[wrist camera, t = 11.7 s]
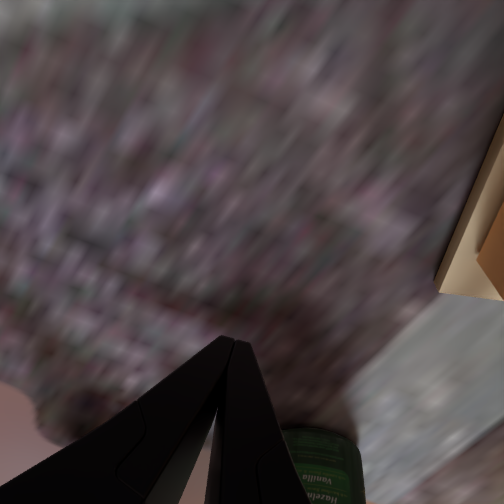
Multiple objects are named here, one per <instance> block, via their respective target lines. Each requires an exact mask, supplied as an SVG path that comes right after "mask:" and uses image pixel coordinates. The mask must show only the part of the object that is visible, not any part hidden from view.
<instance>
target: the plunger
mask: <svg viewBox="0 0 504 504" xmlns="http://www.w3.org/2000/svg"><path fill="white" fill-rule="evenodd" d="M476 261H477V262H478V264H479V265H480V267H481V268H482V270H483V271H484V273H485V274H486V276H487V277H488V279H489V280H490V281H491V283H492V284H493V286H494V287H495V289H496V290H497V292H498V293H499V295H500V296H501V298H502V299H503V301H504V202H503V204H502V206H501V208H500V210H499V212H498V214H497V217H496V219H495V221H494V223H493V225H492V227H491V229H490V231H489V234H488V236H487V238H486V240H485V242H484V244H483V246H482V248H481V251H480V253H479V255H478V257H477V259H476Z"/></svg>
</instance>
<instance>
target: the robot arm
mask: <svg viewBox="0 0 504 504" xmlns="http://www.w3.org/2000/svg"><path fill="white" fill-rule="evenodd" d="M217 409H218V410H217ZM216 412H217V414H216ZM215 415H216V419H215V425H214V433H213V441H212V448H211V456H210V464H209V471H208V479H207V487H206V494H205V502H204V504H312V503H311V501H310V499H309V497H308V494H307V492H306V490H305V488H304V486H303V484H302V482H301V479H300V477H299V475H298V473H297V470H296V468H295V465H294V463H293V460H292V457H291V455H290V452H289V449H288V446H287V444H286V441H285V440H284V436H283V433H282V431H281V428H280V425H279V422H278V419H277V416H276V414H275V411H274V408H273V405H272V402H271V399H270V397H269V394H268V391H267V388H266V385H265V382H264V380H263V377H262V374H261V371H260V368H259V365H258V363H257V360H256V357H255V354H254V351H253V348H252V346H251V344H250V343H249V342H246V341H242V340H236V341H235V340H234V339H233V338H230V337H226V336H223V335H221V336H219V337H218V338H216V339H215V340H214V341H212V342H211V343H210V344H208V345H207V346H206V347H205V348H203V349H202V350H201V351H199V352H198V353H197V354H195V355H194V356H193V357H192V358H190V359H189V360H188V361H186V362H185V363H184V364H182V365H181V366H180V367H179V368H177V369H176V370H175V371H173V372H172V373H171V374H169V375H168V376H167V377H166V378H164V379H163V380H162V381H160V382H159V383H158V384H156V385H155V386H154V387H153V388H151V389H150V390H149V391H147V392H146V393H145V394H143V395H142V396H141V397H140V398H138V399H137V401H134V402H132V403H131V404H130V405H129V406H127V407H126V408H125V409H123V410H122V411H121V412H119V413H118V414H116V415H115V416H114V417H112V418H111V419H109V420H108V421H107V422H105V423H104V424H102V425H100V426H99V427H97V428H96V429H94V430H93V431H91V432H89V433H88V434H86V435H85V436H83V437H81V438H80V439H78V440H76V441H75V442H73V443H71V444H70V445H68V446H66V447H65V448H63V449H61V450H60V451H58V452H56V453H55V454H53V455H51V456H50V457H49V458H47V459H45V460H43V461H41V462H40V463H38V464H37V465H35V466H33V467H32V468H30V469H28V470H27V471H25V472H23V473H22V474H20V475H18V476H17V477H15V478H13V479H12V480H10V481H9V482H7V483H5V484H3V485H2V486H0V504H178V503H179V500H180V498H181V496H182V494H183V491H184V489H185V487H186V484H187V482H188V479H189V477H190V475H191V472H192V470H193V468H194V466H195V463H196V461H197V458H198V456H199V454H200V451H201V449H202V447H203V444H204V442H205V440H206V437H207V435H208V433H209V430H210V428H211V426H212V423H213V421H214V418H215Z"/></svg>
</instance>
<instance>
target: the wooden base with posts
mask: <svg viewBox="0 0 504 504" xmlns="http://www.w3.org/2000/svg"><path fill="white" fill-rule="evenodd" d="M503 202H504V114H503V116H502V119H501V121H500V124H499V126H498V128H497V131H496V133H495V136H494V138H493V140H492V143H491V145H490V148H489V150H488V152H487V155H486V157H485V160H484V162H483V164H482V167H481V169H480V172H479V174H478V176H477V179H476V181H475V184H474V186H473V188H472V191H471V193H470V196H469V198H468V200H467V203H466V205H465V208H464V210H463V212H462V215H461V217H460V220H459V222H458V224H457V227H456V229H455V232H454V234H453V236H452V239H451V241H450V244H449V246H448V248H447V251H446V253H445V256H444V258H443V260H442V263H441V265H440V267H439V270H438V272H437V275H436V277H435V279H434V284H435V286H436V288H437V290H438V292H441V293H448V294H456V295H463V296H471V297H478V298H486V299H493V300H501V301H503V299H502V298H501V296H500V295H499V293H498V292H497V290H496V289H495V287H494V286H493V284H492V283H491V281H490V280H489V279H488V277H487V276H486V274H485V273H484V271H483V270H482V268H481V267H480V265H479V264H478V262H477V261H476V259H477V257H478V255H479V253H480V251H481V248H482V246H483V244H484V242H485V240H486V238H487V236H488V234H489V231H490V229H491V227H492V225H493V223H494V221H495V219H496V217H497V214H498V212H499V210H500V208H501V206H502V204H503Z"/></svg>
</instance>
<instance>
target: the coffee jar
mask: <svg viewBox="0 0 504 504" xmlns="http://www.w3.org/2000/svg"><path fill="white" fill-rule="evenodd" d="M281 431H282V433H283V436H284V440H285V441H286V444H287V446H288V449H289V452H290V455H291V457H292V460H293V463H294V465H295V468H296V470H297V473H298V475H299V477H300V479H301V482H302V484H303V486H304V488H305V490H306V492H307V494H308V497H309V499H310V501H311V503H312V504H366V499H365V487H364V478H363V468H362V460H361V454H360V451H359V449H358V448H357V446H356V445H355V444H354V443H353V442H351V441H350V440H348V439H347V438H345V437H342V436H339V435H337V434H335V433H333V432H330V431H326V430H323V429H318V428H307V427H306V428H296V429H287V430H281Z"/></svg>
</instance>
